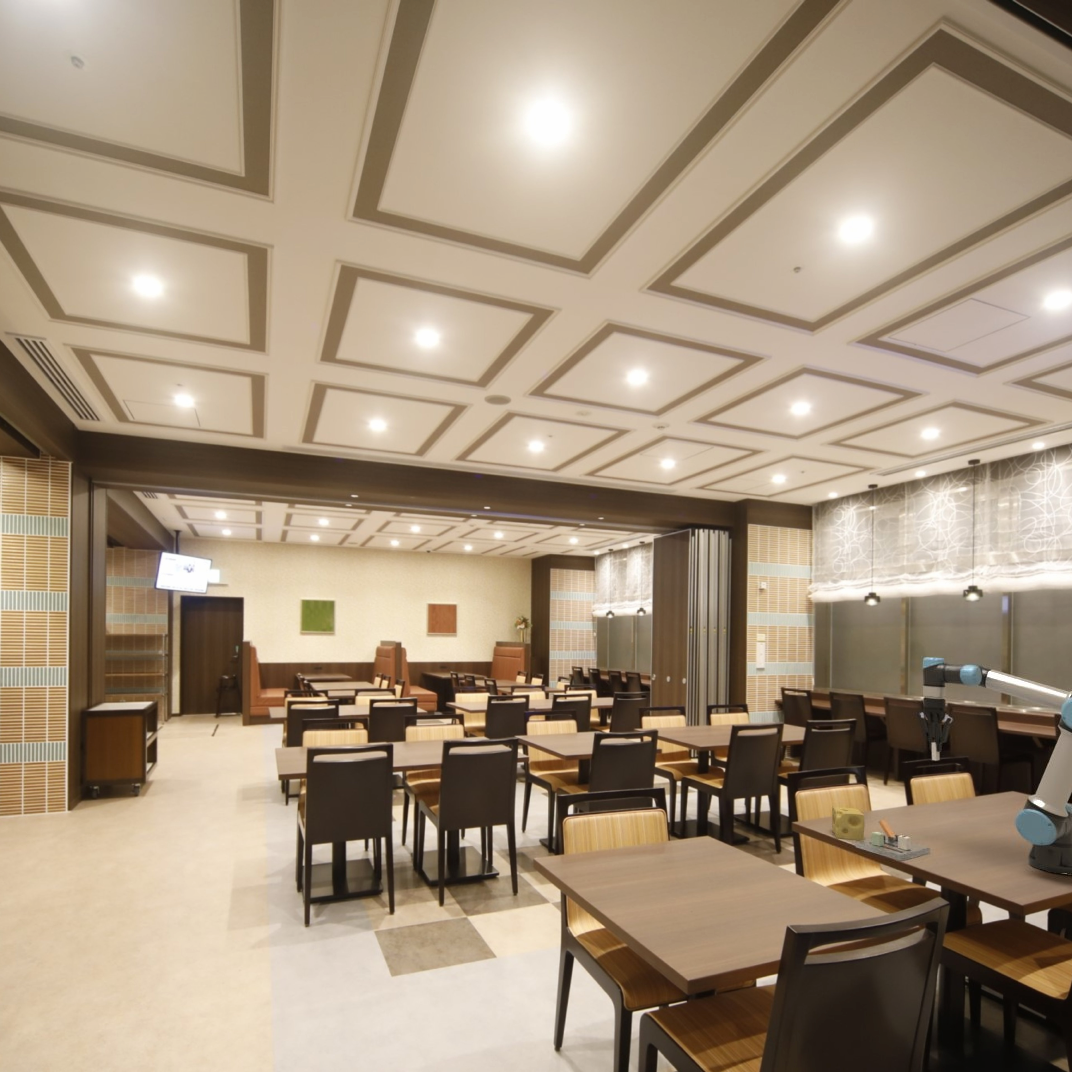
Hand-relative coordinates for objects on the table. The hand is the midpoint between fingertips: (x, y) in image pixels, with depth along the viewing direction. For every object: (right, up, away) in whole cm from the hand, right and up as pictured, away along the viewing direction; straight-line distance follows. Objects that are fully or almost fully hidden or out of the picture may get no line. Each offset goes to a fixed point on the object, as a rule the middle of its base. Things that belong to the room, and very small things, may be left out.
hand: (935, 759), depth 267 cm
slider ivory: (-20, -28, -14) cm, 37 cm away
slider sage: (-28, -28, -11) cm, 41 cm away
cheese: (-31, -32, +6) cm, 45 cm away
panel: (-22, -30, -10) cm, 39 cm away
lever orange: (-19, -29, -5) cm, 35 cm away
